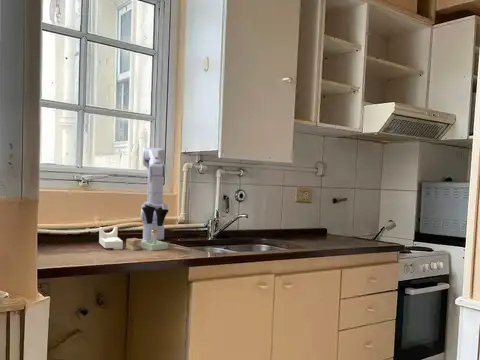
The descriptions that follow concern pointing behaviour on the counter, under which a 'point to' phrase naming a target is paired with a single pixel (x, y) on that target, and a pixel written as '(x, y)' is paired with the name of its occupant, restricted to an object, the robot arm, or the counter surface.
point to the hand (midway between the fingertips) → (154, 224)
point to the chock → (133, 244)
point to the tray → (154, 245)
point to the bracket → (110, 239)
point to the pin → (153, 236)
